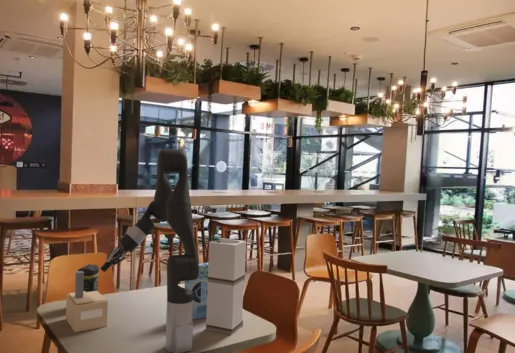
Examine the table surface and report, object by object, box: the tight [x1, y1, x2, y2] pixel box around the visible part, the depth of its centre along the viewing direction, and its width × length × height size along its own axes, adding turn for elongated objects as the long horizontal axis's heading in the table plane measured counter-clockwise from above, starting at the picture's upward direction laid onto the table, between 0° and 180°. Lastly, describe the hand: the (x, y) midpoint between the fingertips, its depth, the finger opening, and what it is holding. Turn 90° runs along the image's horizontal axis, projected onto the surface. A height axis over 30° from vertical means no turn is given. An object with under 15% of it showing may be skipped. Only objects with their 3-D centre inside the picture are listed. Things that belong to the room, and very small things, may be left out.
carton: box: [65, 290, 109, 333], centre depth 168 cm, size 16×12×10 cm
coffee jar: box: [77, 263, 100, 292], centre depth 186 cm, size 10×8×19 cm
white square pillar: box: [205, 237, 247, 336], centre depth 168 cm, size 11×11×35 cm
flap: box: [68, 270, 94, 304], centre depth 166 cm, size 14×6×11 cm, turn 35°
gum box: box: [184, 261, 208, 320], centre depth 182 cm, size 20×5×23 cm, turn 123°
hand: (102, 270), depth 171 cm, fingers closed
